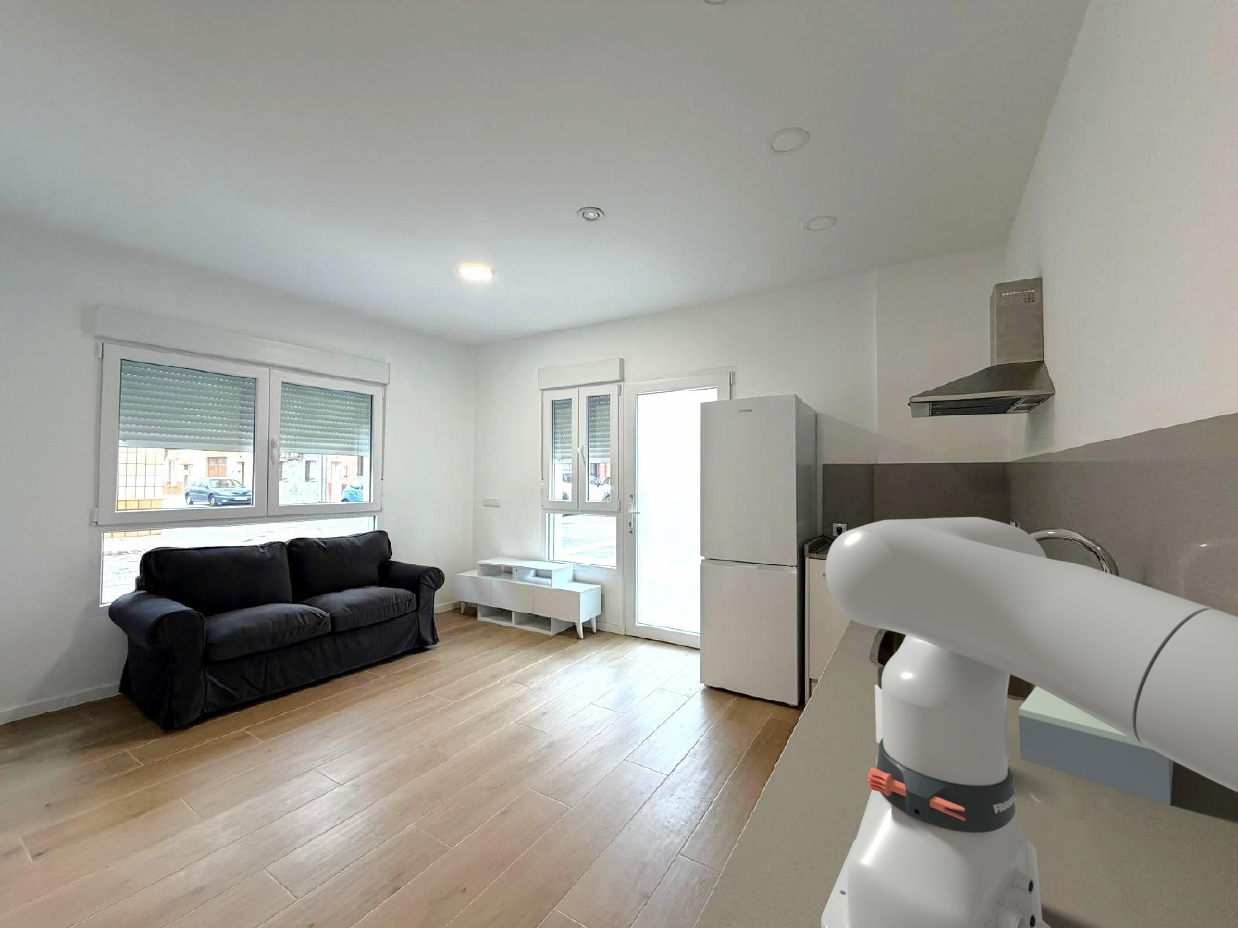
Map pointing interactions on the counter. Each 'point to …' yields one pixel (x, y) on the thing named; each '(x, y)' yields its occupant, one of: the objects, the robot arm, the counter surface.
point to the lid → (1068, 716)
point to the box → (1097, 759)
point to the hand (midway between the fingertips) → (1103, 658)
